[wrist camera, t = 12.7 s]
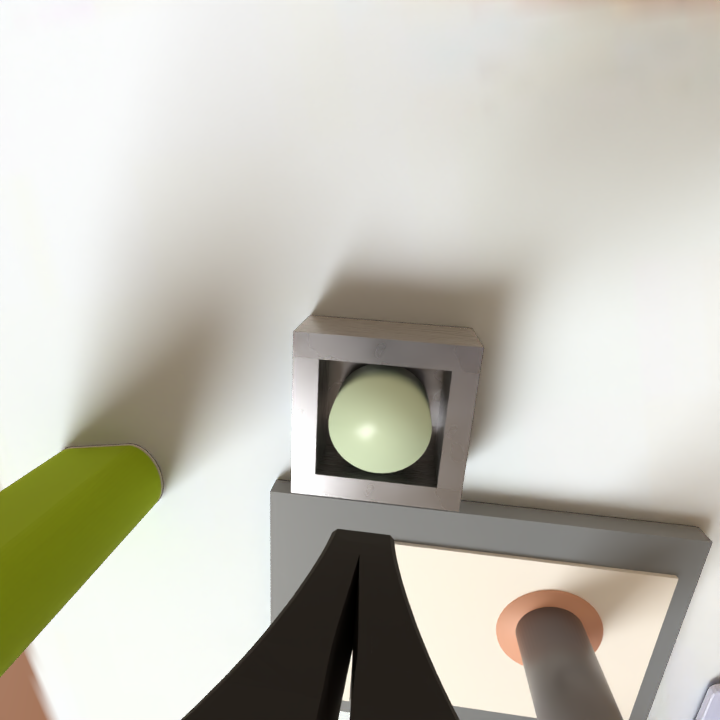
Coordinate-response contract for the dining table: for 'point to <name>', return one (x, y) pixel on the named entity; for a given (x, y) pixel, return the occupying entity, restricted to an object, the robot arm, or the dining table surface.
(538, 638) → the marker
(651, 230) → the dining table surface
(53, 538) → the vape
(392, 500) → the button housing
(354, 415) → the button
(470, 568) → the drawing board
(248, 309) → the dining table surface
